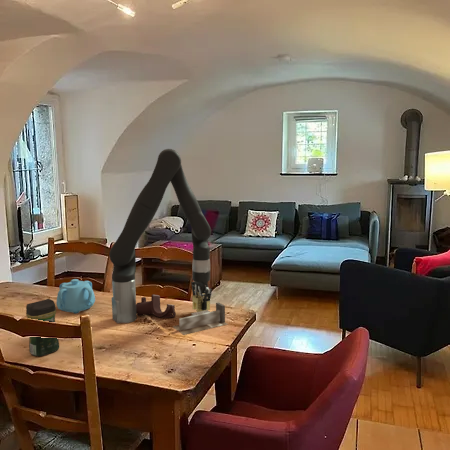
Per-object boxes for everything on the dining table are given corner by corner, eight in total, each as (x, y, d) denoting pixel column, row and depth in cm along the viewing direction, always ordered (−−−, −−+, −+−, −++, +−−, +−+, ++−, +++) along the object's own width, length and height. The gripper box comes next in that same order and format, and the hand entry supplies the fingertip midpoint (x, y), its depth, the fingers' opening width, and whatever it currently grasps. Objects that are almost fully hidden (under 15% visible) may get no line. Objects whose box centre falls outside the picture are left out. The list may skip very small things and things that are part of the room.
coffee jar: (52, 344, 170) (48, 295, 166) (62, 350, 164) (59, 300, 161) (25, 352, 163) (21, 302, 160) (35, 359, 157) (31, 307, 154)
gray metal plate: (197, 320, 192) (197, 317, 192) (190, 315, 197) (190, 313, 197) (213, 316, 196) (213, 314, 196) (206, 312, 201) (206, 309, 201)
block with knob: (197, 312, 193) (197, 296, 192) (192, 308, 197) (192, 293, 196) (209, 309, 196) (209, 294, 195) (204, 306, 200) (204, 291, 199)
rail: (183, 337, 175) (183, 317, 173) (172, 328, 183) (171, 309, 182) (228, 326, 185) (228, 307, 184) (215, 318, 193) (215, 300, 192)
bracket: (171, 316, 189) (170, 292, 191) (135, 320, 194) (134, 296, 197) (178, 317, 194) (177, 293, 197) (142, 321, 200) (141, 297, 202)
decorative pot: (60, 304, 213) (58, 275, 211) (96, 301, 216) (95, 273, 213) (54, 317, 197) (51, 286, 195) (93, 314, 200) (91, 283, 197)
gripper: (185, 266, 198) (185, 304, 200) (201, 274, 186) (201, 315, 189) (200, 264, 202) (200, 301, 204) (217, 272, 190) (217, 311, 193)
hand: (201, 308), depth 196 cm, fingers closed on block with knob, 4 cm apart
